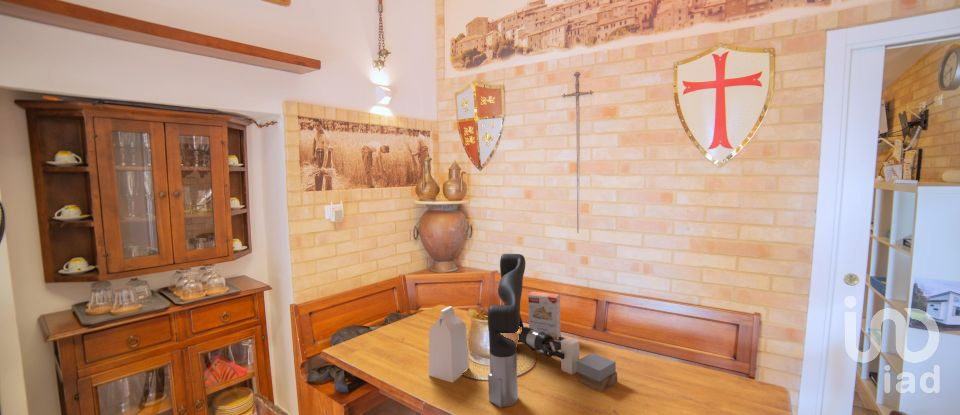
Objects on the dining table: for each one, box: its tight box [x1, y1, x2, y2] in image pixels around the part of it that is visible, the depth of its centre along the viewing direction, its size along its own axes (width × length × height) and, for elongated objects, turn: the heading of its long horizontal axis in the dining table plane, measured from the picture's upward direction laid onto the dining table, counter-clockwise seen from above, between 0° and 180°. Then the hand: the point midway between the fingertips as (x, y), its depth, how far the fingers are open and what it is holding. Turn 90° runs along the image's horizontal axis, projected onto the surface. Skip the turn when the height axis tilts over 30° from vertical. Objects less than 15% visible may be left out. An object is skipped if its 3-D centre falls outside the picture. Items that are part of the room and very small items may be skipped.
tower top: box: [576, 352, 617, 382], centre depth 145 cm, size 10×10×4 cm
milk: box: [428, 305, 470, 384], centre depth 155 cm, size 12×12×26 cm
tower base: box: [577, 371, 618, 393], centre depth 145 cm, size 10×10×4 cm
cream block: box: [560, 336, 580, 375], centre depth 154 cm, size 5×5×12 cm
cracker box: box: [528, 291, 561, 340], centre depth 186 cm, size 14×6×21 cm, turn 62°
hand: (570, 353), depth 153 cm, fingers open, 8 cm apart
